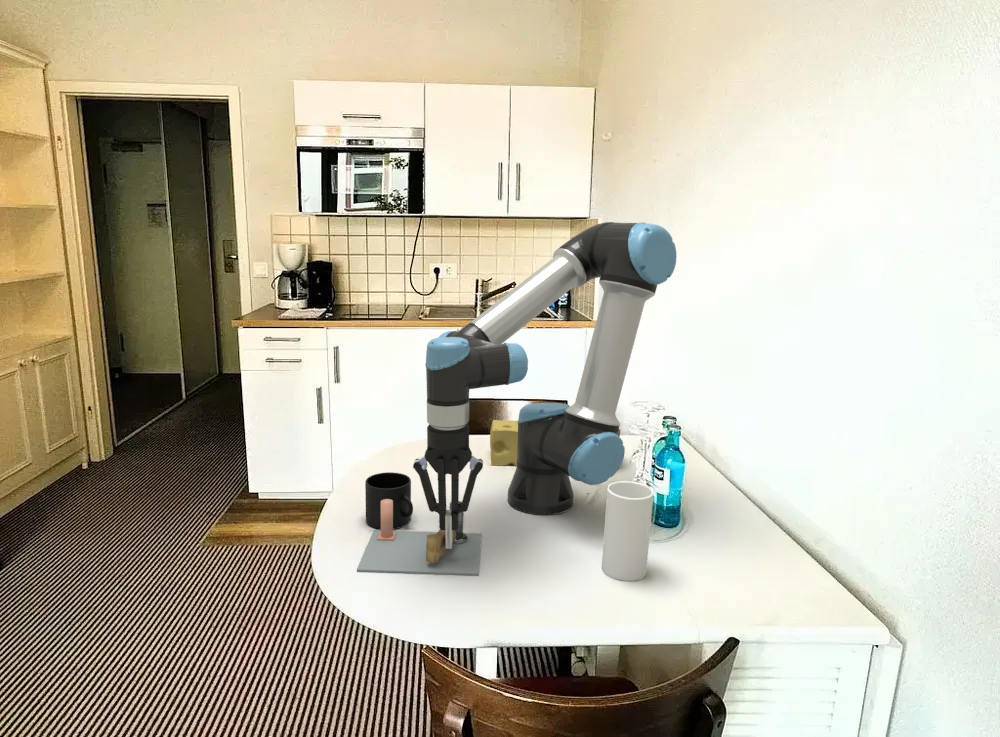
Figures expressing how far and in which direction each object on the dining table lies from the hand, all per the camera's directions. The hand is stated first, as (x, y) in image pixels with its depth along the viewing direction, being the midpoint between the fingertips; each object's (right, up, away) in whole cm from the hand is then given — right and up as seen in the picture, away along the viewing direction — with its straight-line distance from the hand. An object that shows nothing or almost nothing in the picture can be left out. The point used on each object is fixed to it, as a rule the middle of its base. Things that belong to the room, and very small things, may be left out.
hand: (449, 545), depth 124 cm
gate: (-2, -1, +2) cm, 3 cm away
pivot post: (+1, -2, +9) cm, 9 cm away
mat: (-5, -2, +4) cm, 7 cm away
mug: (-13, 0, +16) cm, 21 cm away
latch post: (-13, -1, +9) cm, 16 cm away
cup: (+33, -5, 0) cm, 33 cm away
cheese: (+12, +8, +56) cm, 57 cm away
